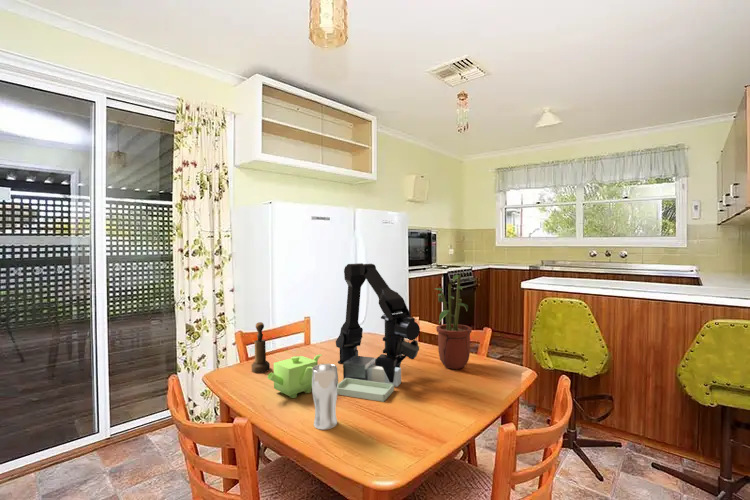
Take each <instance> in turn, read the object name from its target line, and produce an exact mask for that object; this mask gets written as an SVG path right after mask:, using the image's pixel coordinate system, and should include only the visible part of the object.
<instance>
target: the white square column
mask: <svg viewBox="0 0 750 500" xmlns="http://www.w3.org/2000/svg"><path fill="white" fill-rule="evenodd" d="M367 381H374V382H381V383H389V384H394V387H396V388H397V387H399V385H401V383H402V367H400V368H399V367H395V374H394V381H393V383H391V382H390V381H389V379H388V377H387V375H386V373H385V371H384V369H383V368H382V367H379V366H375V365H374V364H372V365H371V366H370V367H369V368H367Z"/></svg>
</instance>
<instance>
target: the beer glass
mask: <svg viewBox="0 0 750 500" xmlns="http://www.w3.org/2000/svg"><path fill="white" fill-rule="evenodd" d="M338 383H339V373H338V366H337V365H336V364H333V363H321V364H318V365H316V366H314V367H313V368H312V383H311V385H312V389H311V391H312V392H311V393H312V400H313V405H314V420H313V426H314V428H315V429H317V430H321V431H324V430H325V431H326V430H327V431H328V430H331V429H333V428H335V427H336V426H337V425H338V419H337V414H336V409H337V408H336V406H337V400H338V395H337V394H338Z"/></svg>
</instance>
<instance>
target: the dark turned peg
mask: <svg viewBox="0 0 750 500" xmlns="http://www.w3.org/2000/svg"><path fill="white" fill-rule="evenodd" d="M264 327H265V324H264V323H263V322H262V321H261V322H256V324H255V329H256V331H257V334H256V340H254V362H253V363H252V364H251V373H255V374H261V373H266V372H268V371H269V370H270V369H271V368H270V362H269V361H268V360H267V353H266V348H267V347H266V339H263V337H264V333H263V330H264Z"/></svg>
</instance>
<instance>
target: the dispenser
mask: <svg viewBox="0 0 750 500" xmlns="http://www.w3.org/2000/svg"><path fill="white" fill-rule="evenodd" d="M376 358H377V357H372V356H364V355H363V356H362V355H358V356H353V357H351V358H350V359H348V360H347V361H345V362H344V363H342V370H343V371H342V373H343V374H342V375H343V376H342V377H343V378H342V380H344V379H345V378H352V379H359V380H366V381H367V368H369V367H370V366H371V365H372V364H374V365H375V359H376Z"/></svg>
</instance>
